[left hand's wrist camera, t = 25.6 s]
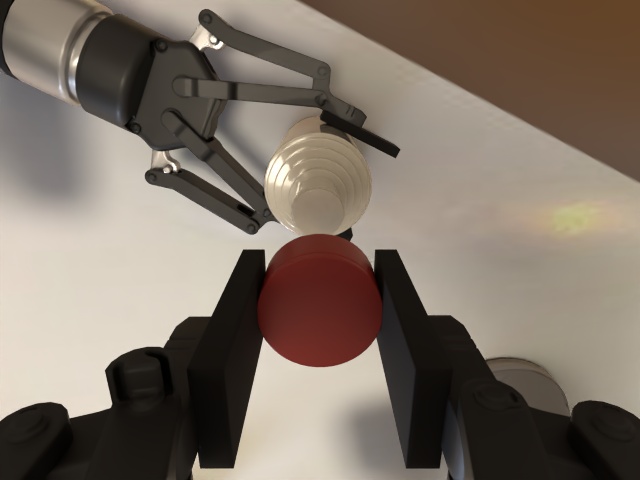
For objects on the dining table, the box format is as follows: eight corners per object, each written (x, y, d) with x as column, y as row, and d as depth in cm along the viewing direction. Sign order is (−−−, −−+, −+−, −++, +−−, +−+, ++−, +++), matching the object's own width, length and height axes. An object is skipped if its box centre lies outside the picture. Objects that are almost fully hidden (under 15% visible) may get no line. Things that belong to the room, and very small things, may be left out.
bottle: (295, 104, 37) (275, 124, 20) (366, 133, 38) (407, 175, 21) (270, 176, 40) (233, 249, 22) (338, 201, 41) (353, 291, 23)
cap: (257, 322, 15) (248, 357, 13) (273, 223, 14) (266, 246, 12) (361, 339, 16) (367, 376, 14) (386, 243, 14) (397, 269, 12)
